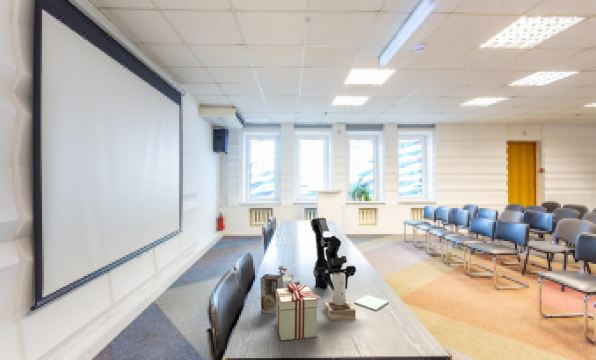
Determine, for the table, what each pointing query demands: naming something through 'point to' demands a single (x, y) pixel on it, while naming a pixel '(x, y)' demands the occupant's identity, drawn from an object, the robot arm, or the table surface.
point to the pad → (371, 302)
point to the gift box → (296, 312)
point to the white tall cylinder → (338, 288)
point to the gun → (287, 274)
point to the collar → (339, 311)
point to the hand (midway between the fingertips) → (339, 289)
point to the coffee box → (269, 292)
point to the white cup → (286, 281)
